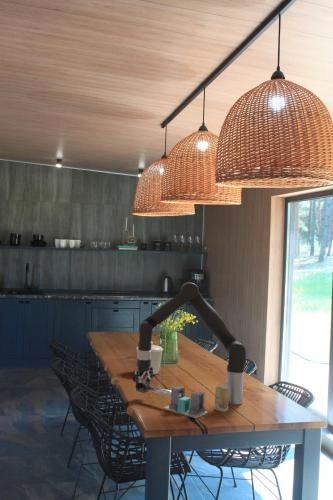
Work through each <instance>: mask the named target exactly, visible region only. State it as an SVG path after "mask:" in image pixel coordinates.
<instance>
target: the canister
mask: <svg viewBox="0 0 333 500" xmlns="http://www.w3.org/2000/svg"><path fill="white" fill-rule="evenodd" d="M153 343H154V342H153V341H151V367H153V376H154V375H157V374H158V373H159V371H160V368H161V363H162V358H163V357H162V355H163V351H164V348H163V347H162V346H160V345H155V344H153ZM135 349H136V354H137V355H138V346H136V348H135ZM150 375H151V374H150Z"/></svg>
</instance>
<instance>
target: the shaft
mask: <svg viewBox="0 0 333 500" xmlns="http://www.w3.org/2000/svg"><path fill="white" fill-rule="evenodd" d="M150 384H151V381H150V382H148V381H146V380H143V379H141V381H140V389H139V390H137V389H136V388H135V389H136V391H135V392H137V393H138V392H139V393H142V394H144V393H149V392H152V393H156V394H159V395H163V396H166V397H171V393H172V390H169V389H165V388H162V387H157V386H152V385H150ZM179 398H182V393H179Z"/></svg>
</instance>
